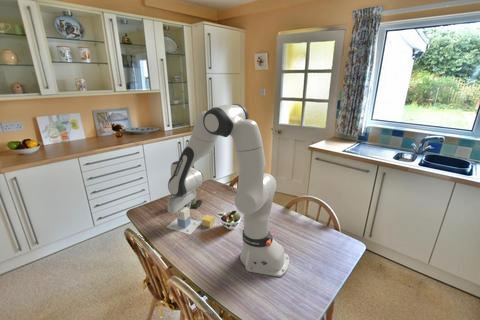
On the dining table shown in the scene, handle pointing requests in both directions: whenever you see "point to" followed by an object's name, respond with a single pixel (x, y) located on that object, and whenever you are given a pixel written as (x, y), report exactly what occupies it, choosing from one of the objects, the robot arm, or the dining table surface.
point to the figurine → (195, 199)
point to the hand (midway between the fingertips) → (183, 212)
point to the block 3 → (208, 221)
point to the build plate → (186, 230)
